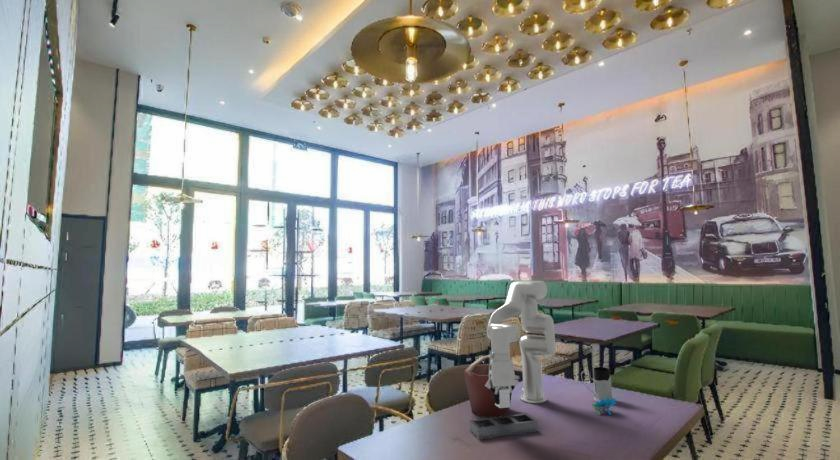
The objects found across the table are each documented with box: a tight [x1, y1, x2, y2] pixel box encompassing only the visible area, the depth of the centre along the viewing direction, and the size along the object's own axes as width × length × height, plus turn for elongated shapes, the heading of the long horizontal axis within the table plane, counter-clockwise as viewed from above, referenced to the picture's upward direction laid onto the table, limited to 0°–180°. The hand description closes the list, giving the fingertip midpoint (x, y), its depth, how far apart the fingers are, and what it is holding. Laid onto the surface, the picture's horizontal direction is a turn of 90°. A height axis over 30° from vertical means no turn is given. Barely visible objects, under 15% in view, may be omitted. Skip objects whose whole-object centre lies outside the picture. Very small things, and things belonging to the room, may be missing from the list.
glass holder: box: [580, 366, 613, 402], centre depth 196 cm, size 9×14×15 cm, turn 74°
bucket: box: [463, 354, 513, 418], centre depth 184 cm, size 24×22×25 cm
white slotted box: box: [495, 387, 511, 408], centre depth 161 cm, size 4×4×7 cm
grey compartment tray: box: [469, 413, 539, 440], centre depth 160 cm, size 26×9×4 cm, turn 105°
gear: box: [591, 397, 617, 416], centre depth 177 cm, size 11×6×10 cm
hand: (502, 402), depth 160 cm, fingers closed on white slotted box, 4 cm apart
